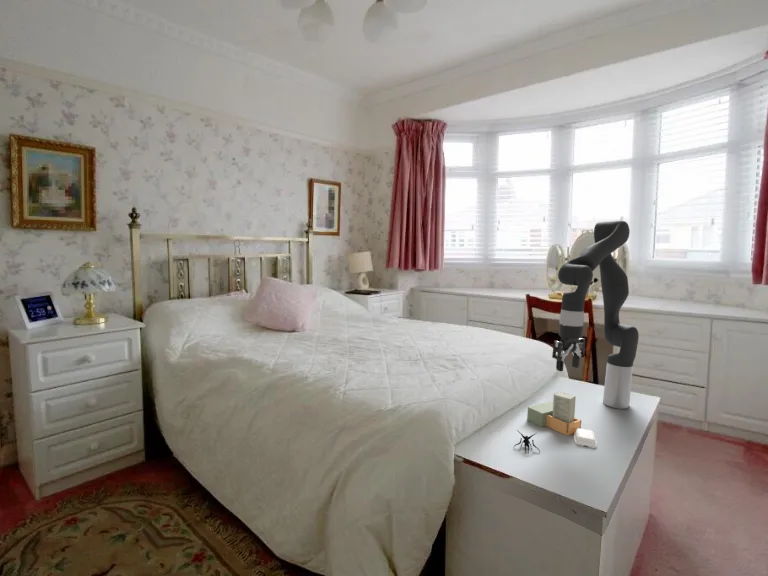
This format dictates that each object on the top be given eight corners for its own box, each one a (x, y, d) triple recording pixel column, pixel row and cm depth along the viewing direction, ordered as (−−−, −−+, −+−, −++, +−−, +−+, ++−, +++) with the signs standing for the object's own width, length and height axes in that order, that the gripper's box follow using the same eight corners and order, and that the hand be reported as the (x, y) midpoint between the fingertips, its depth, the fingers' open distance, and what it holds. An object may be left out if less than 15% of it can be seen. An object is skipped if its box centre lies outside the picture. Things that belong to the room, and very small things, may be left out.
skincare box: (573, 429, 149) (576, 396, 147) (568, 433, 146) (571, 399, 144) (556, 423, 153) (559, 391, 152) (550, 426, 150) (553, 393, 149)
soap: (597, 449, 135) (598, 441, 135) (574, 445, 138) (575, 436, 137) (595, 437, 144) (595, 429, 143) (573, 433, 146) (573, 425, 146)
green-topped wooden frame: (548, 413, 161) (549, 401, 161) (584, 429, 148) (585, 416, 148) (527, 420, 155) (528, 407, 154) (562, 437, 142) (563, 423, 142)
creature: (540, 460, 129) (538, 443, 136) (541, 446, 127) (540, 429, 134) (513, 456, 131) (513, 439, 138) (514, 442, 129) (514, 426, 137)
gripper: (574, 319, 151) (570, 363, 153) (548, 322, 144) (544, 368, 146) (594, 323, 145) (590, 369, 147) (567, 327, 138) (563, 375, 140)
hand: (567, 369), depth 147 cm, fingers open, 8 cm apart
